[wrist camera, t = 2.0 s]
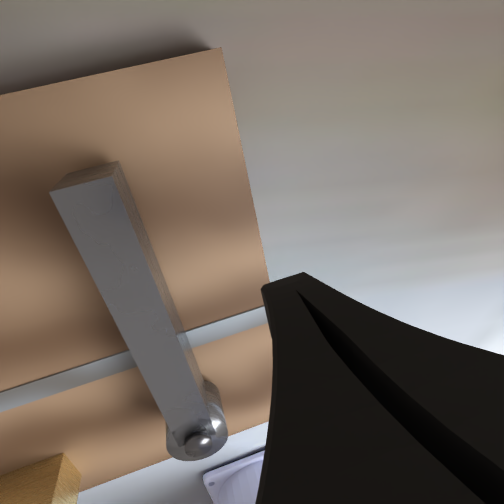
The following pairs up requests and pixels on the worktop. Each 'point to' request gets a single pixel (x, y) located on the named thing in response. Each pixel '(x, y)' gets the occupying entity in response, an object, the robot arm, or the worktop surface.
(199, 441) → the swing bar
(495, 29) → the worktop surface
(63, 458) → the light wood small block
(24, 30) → the worktop surface
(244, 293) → the latch board
